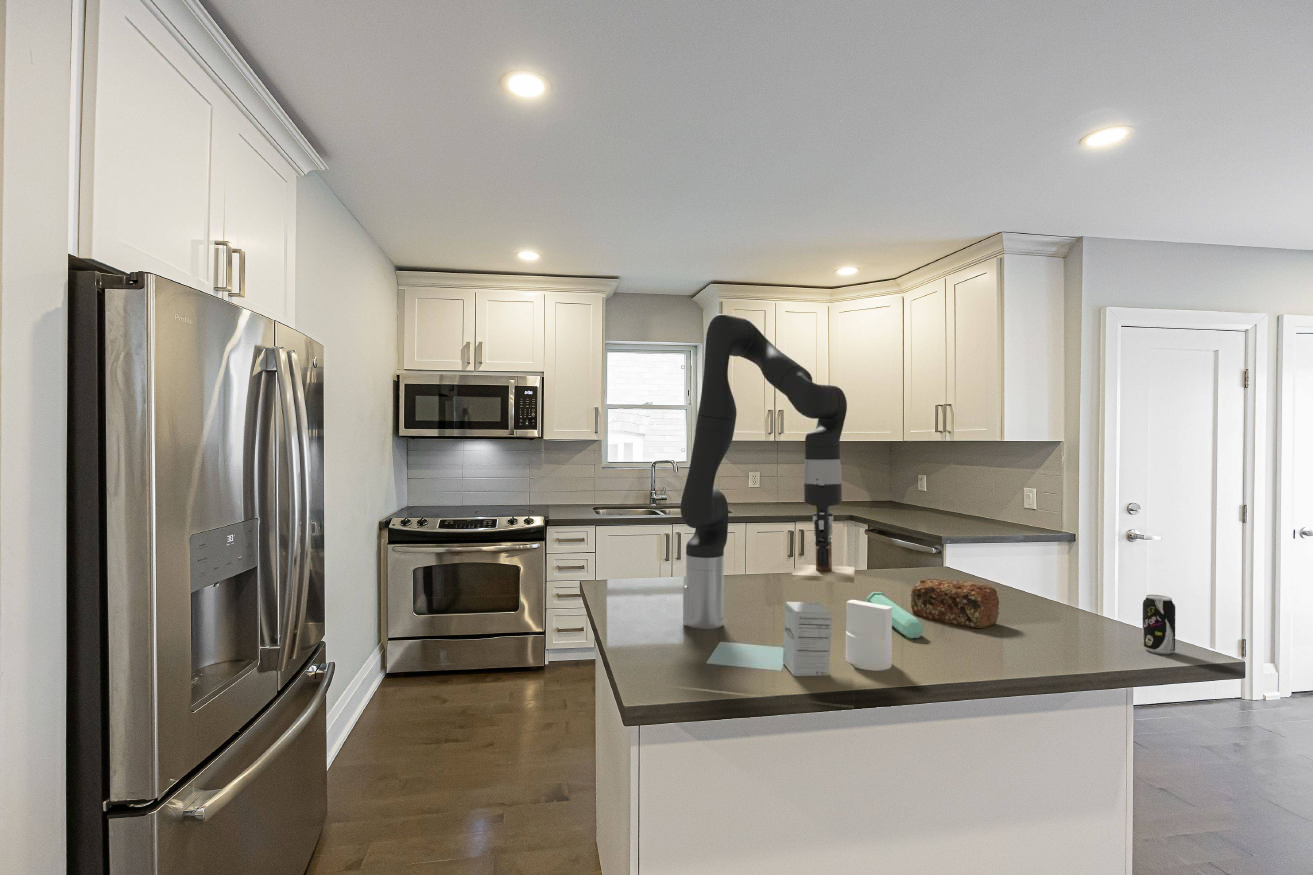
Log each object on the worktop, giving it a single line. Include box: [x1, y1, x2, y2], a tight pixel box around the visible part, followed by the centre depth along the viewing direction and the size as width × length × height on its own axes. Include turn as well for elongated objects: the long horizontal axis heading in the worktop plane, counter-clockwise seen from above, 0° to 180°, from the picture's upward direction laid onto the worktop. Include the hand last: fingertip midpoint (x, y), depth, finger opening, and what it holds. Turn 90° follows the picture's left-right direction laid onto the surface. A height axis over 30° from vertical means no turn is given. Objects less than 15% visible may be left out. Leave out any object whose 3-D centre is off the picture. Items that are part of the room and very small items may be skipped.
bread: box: [910, 578, 1000, 629], centre depth 173 cm, size 19×11×10 cm, turn 36°
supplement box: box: [783, 601, 833, 677], centre depth 133 cm, size 7×7×13 cm
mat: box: [706, 641, 785, 672], centre depth 141 cm, size 15×15×1 cm
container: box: [866, 591, 924, 639], centre depth 167 cm, size 6×6×25 cm
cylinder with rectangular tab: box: [845, 599, 893, 671], centre depth 138 cm, size 9×9×12 cm
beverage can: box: [1141, 594, 1176, 655], centre depth 147 cm, size 6×6×12 cm
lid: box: [790, 540, 856, 584], centre depth 139 cm, size 12×12×7 cm
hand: (823, 564), depth 139 cm, fingers closed on lid, 3 cm apart
